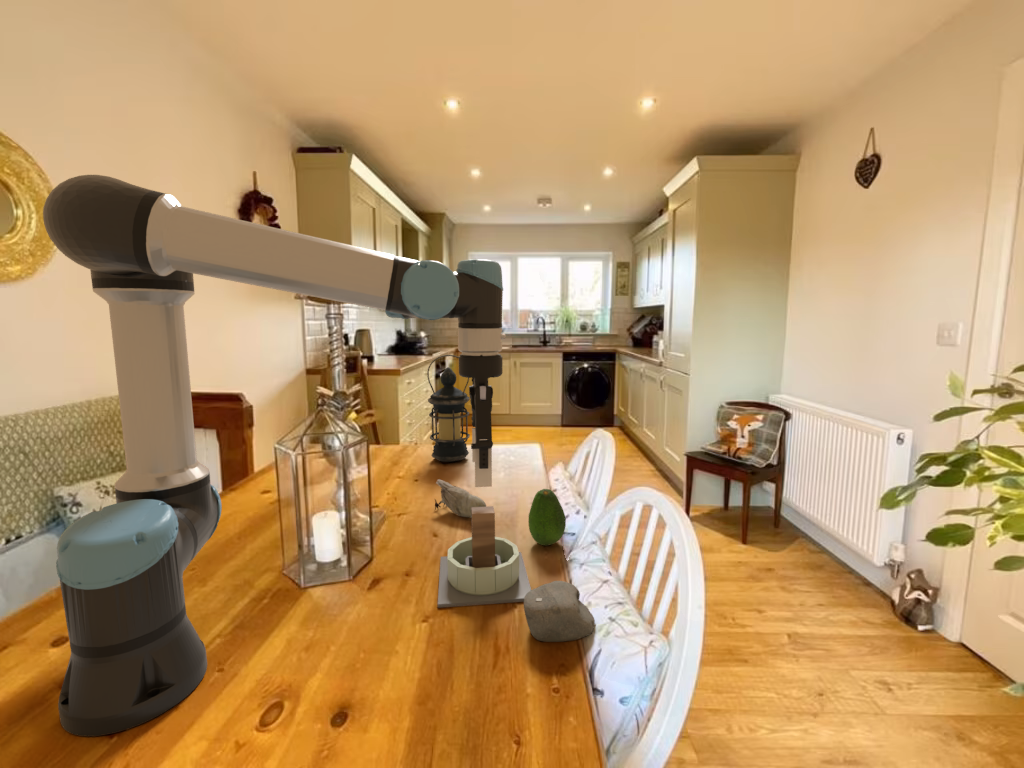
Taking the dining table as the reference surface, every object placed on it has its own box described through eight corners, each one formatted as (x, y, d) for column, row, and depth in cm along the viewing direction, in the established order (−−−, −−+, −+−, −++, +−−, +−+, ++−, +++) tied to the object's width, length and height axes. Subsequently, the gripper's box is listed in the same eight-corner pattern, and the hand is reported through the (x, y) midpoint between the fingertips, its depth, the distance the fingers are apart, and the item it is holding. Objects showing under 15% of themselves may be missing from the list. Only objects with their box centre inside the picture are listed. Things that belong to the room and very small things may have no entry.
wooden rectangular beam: (495, 576, 87) (494, 512, 86) (473, 577, 87) (472, 514, 85) (493, 567, 90) (493, 506, 89) (472, 569, 90) (471, 507, 88)
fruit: (520, 544, 102) (520, 489, 100) (544, 532, 108) (544, 480, 106) (549, 557, 97) (550, 499, 95) (573, 543, 102) (574, 489, 101)
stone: (604, 646, 71) (573, 590, 69) (550, 674, 71) (518, 618, 69) (591, 609, 80) (564, 559, 78) (543, 634, 80) (515, 584, 78)
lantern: (423, 464, 157) (419, 356, 152) (436, 453, 169) (433, 353, 164) (466, 466, 154) (463, 357, 149) (475, 455, 167) (474, 353, 162)
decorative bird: (477, 529, 110) (477, 497, 109) (430, 511, 120) (429, 482, 119) (493, 521, 114) (493, 491, 113) (446, 504, 124) (446, 476, 123)
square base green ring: (533, 600, 82) (533, 572, 81) (437, 607, 80) (436, 578, 79) (521, 554, 98) (521, 530, 97) (440, 559, 96) (440, 534, 95)
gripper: (510, 359, 71) (509, 498, 74) (496, 348, 96) (496, 452, 99) (458, 360, 70) (460, 500, 73) (458, 348, 95) (459, 453, 98)
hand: (481, 473), depth 86 cm, fingers open, 13 cm apart
